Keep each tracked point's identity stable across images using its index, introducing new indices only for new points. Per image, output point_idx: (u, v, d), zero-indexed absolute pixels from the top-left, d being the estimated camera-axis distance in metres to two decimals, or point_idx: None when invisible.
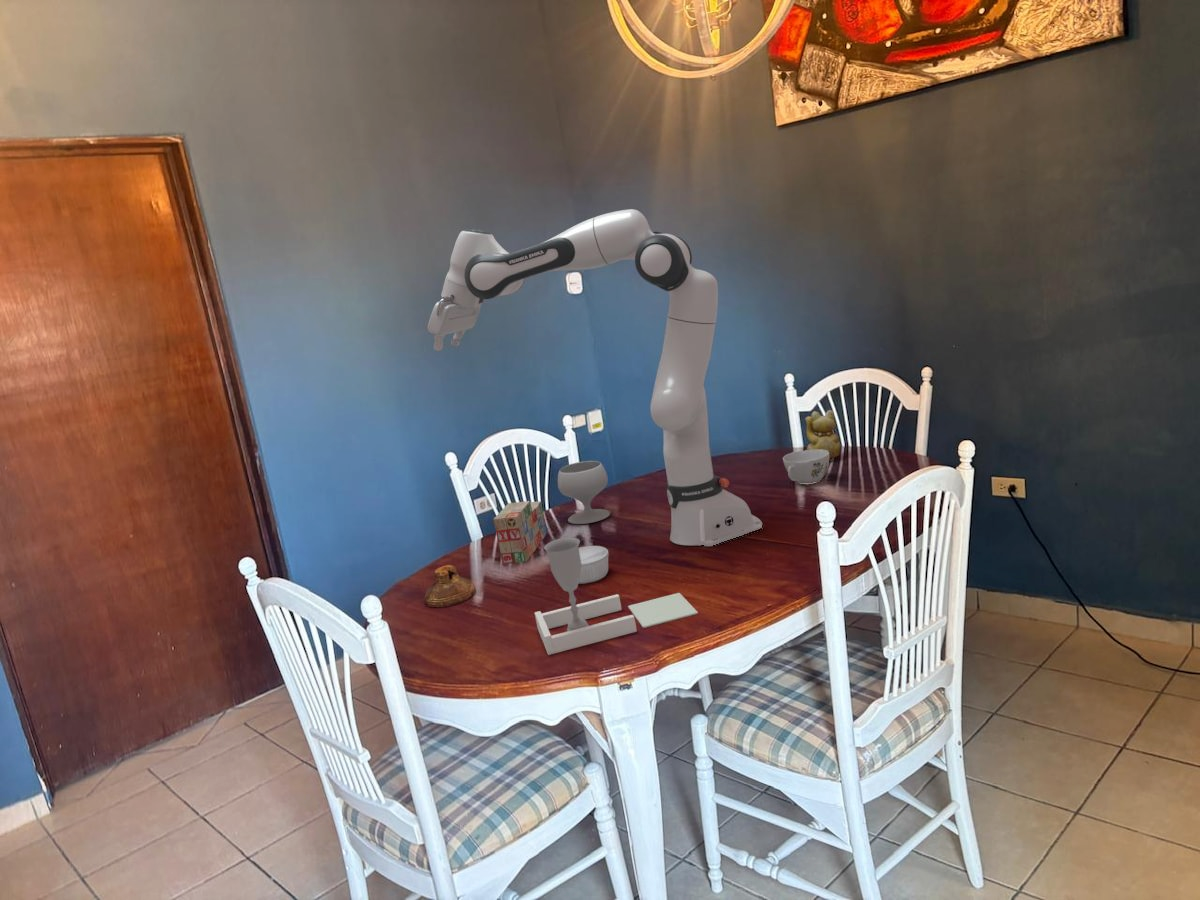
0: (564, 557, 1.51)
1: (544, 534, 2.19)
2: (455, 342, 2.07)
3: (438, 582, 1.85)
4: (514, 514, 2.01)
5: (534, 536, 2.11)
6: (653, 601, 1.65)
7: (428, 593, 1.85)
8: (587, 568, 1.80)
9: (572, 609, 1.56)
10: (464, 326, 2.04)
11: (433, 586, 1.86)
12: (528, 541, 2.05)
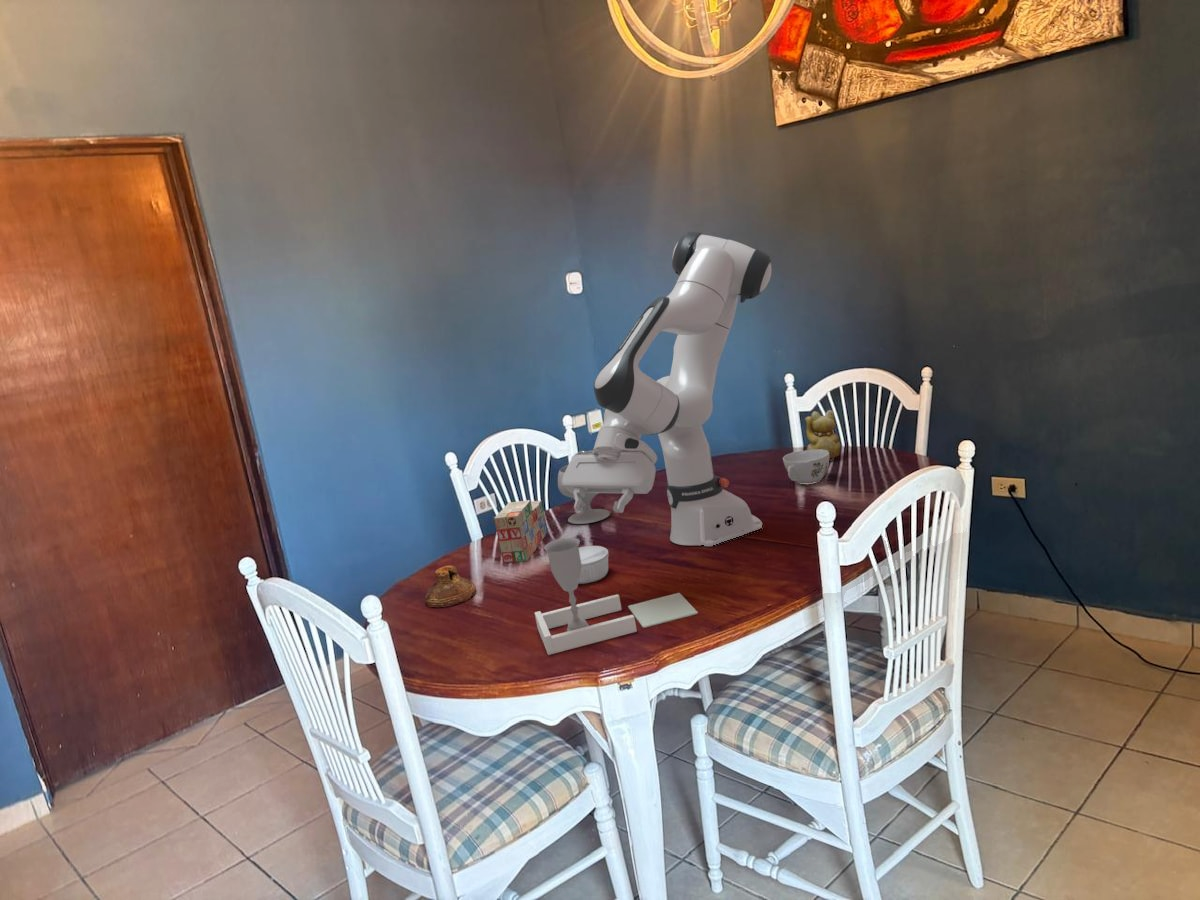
0: (564, 557, 1.51)
1: (544, 533, 2.19)
2: None
3: (439, 582, 1.85)
4: (515, 513, 2.02)
5: (534, 535, 2.11)
6: (653, 601, 1.65)
7: (429, 593, 1.84)
8: (587, 568, 1.80)
9: (572, 609, 1.56)
10: (615, 480, 1.62)
11: (434, 586, 1.86)
12: (528, 540, 2.06)
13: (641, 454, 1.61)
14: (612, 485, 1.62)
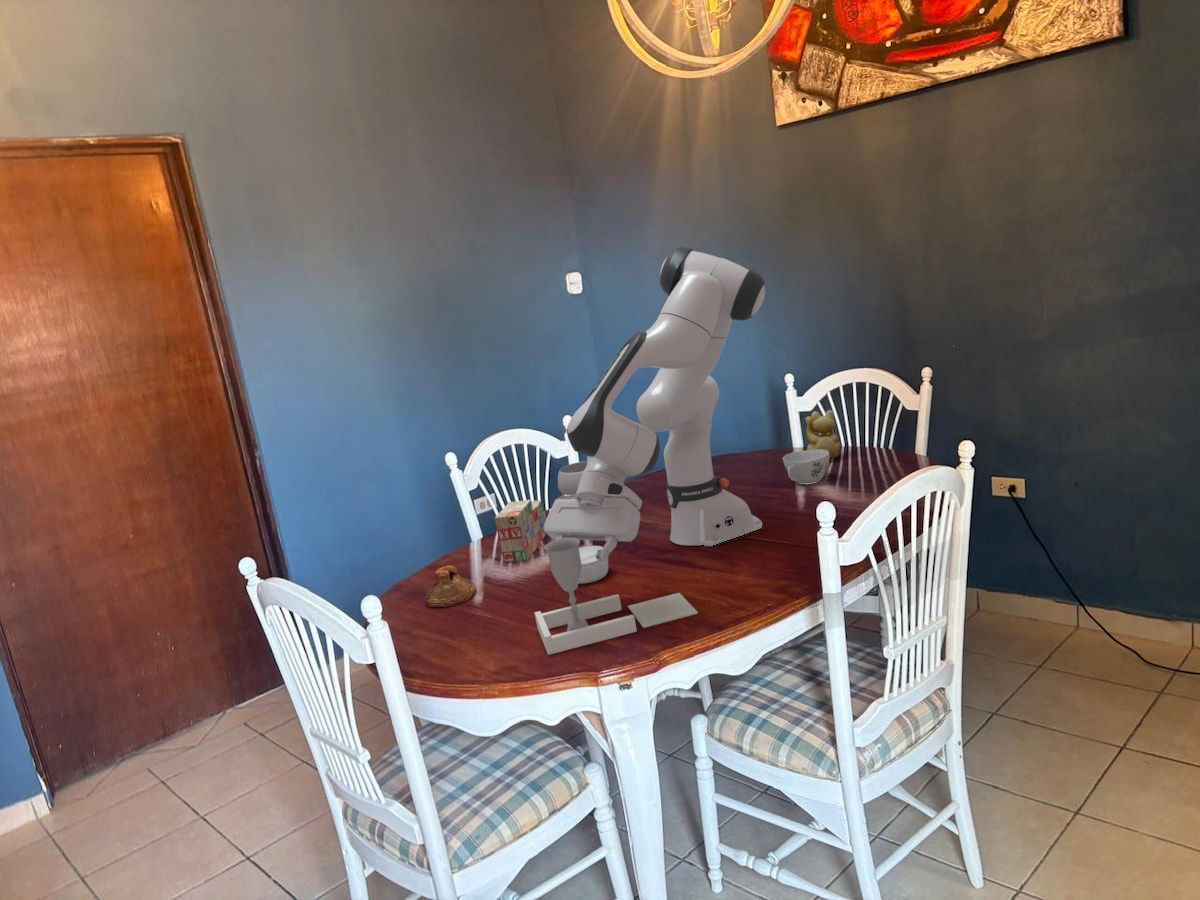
0: (564, 557, 1.51)
1: (545, 533, 2.20)
2: None
3: (439, 582, 1.84)
4: (515, 513, 2.02)
5: (535, 535, 2.12)
6: (653, 601, 1.65)
7: (429, 593, 1.84)
8: (587, 568, 1.80)
9: (572, 609, 1.56)
10: (598, 527, 1.56)
11: (434, 586, 1.85)
12: (529, 540, 2.06)
13: (625, 500, 1.55)
14: (595, 532, 1.56)
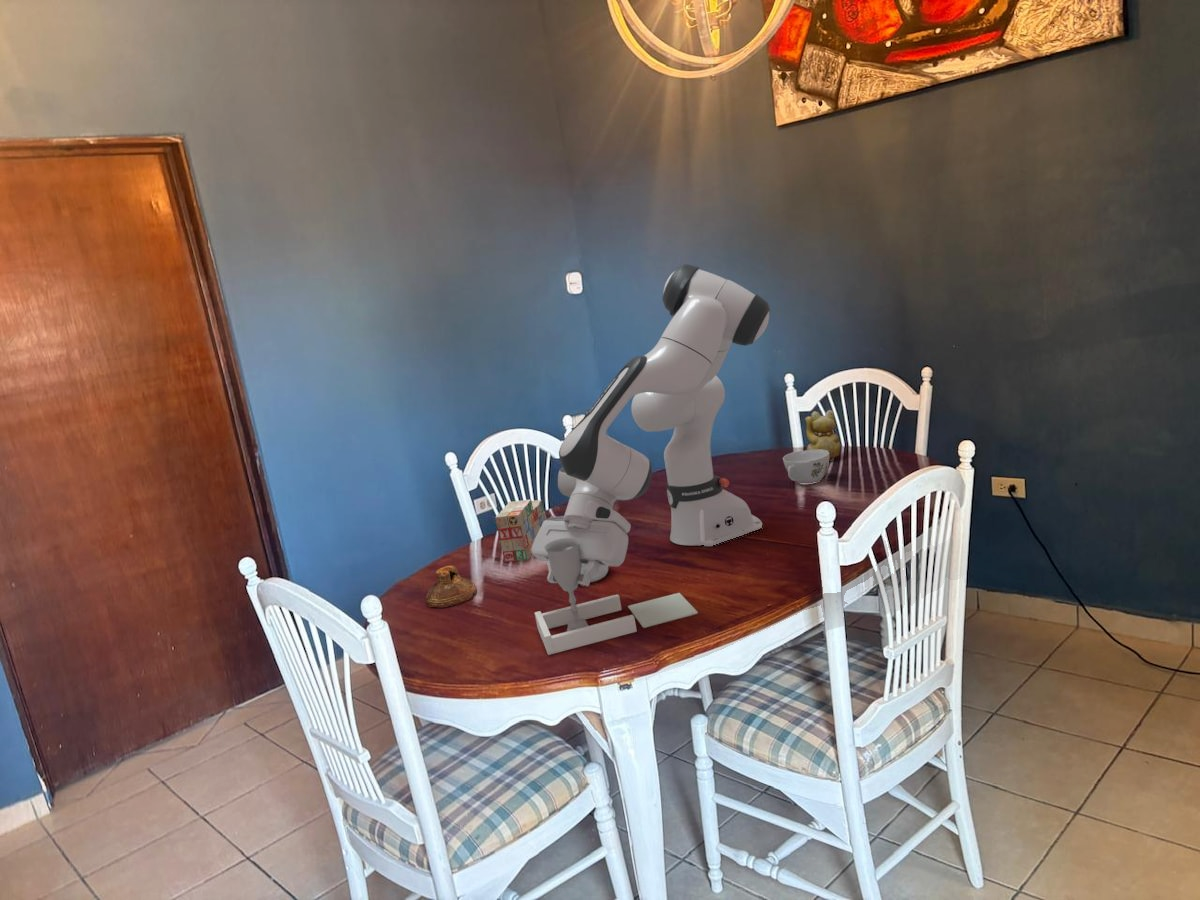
0: (564, 557, 1.51)
1: None
2: None
3: (439, 583, 1.84)
4: (516, 512, 2.03)
5: (535, 534, 2.12)
6: (653, 601, 1.65)
7: (429, 594, 1.84)
8: (587, 568, 1.80)
9: (572, 609, 1.56)
10: (585, 551, 1.54)
11: (434, 586, 1.85)
12: (529, 539, 2.07)
13: (612, 525, 1.53)
14: (582, 557, 1.54)
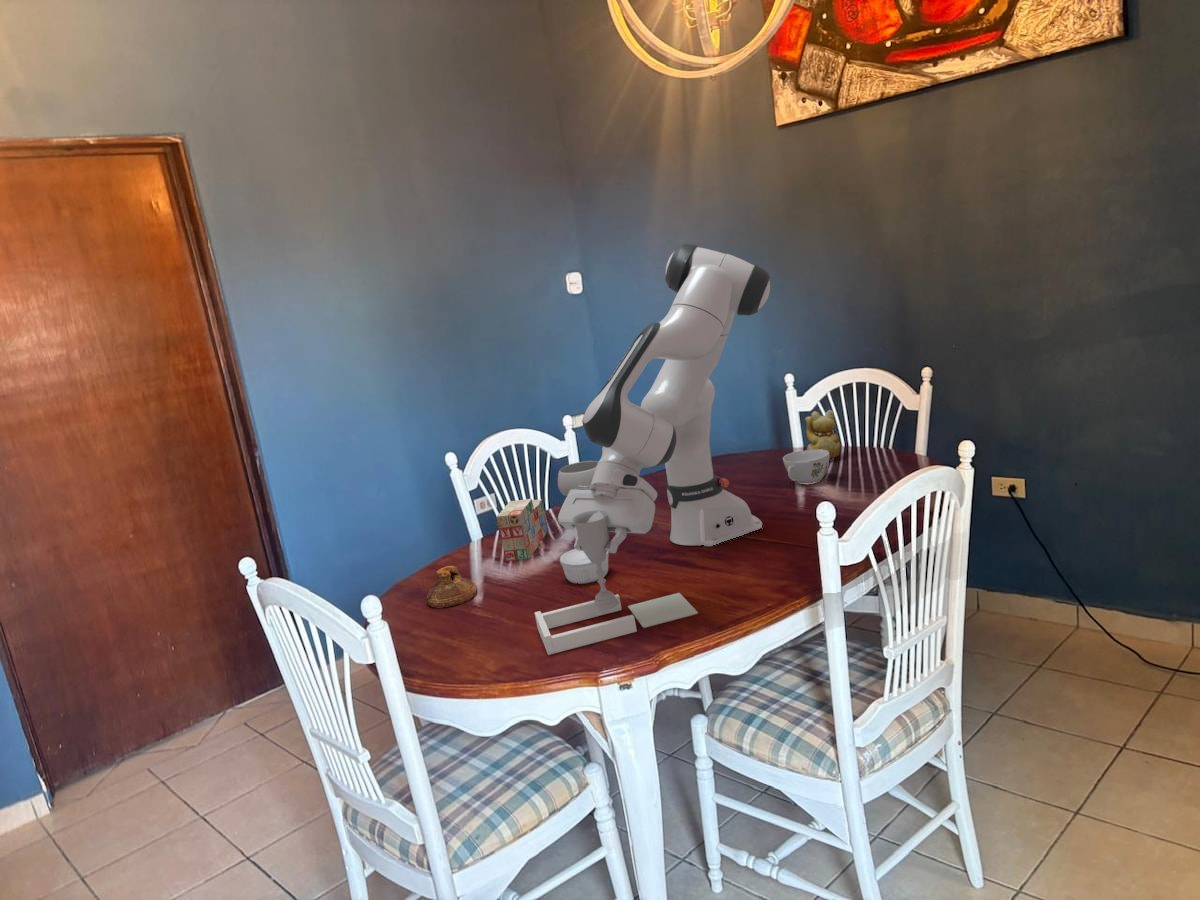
0: (592, 528, 1.52)
1: (545, 532, 2.21)
2: None
3: (440, 583, 1.84)
4: (517, 512, 2.03)
5: (536, 534, 2.13)
6: (653, 601, 1.65)
7: (430, 594, 1.84)
8: (587, 568, 1.80)
9: (600, 581, 1.56)
10: (612, 519, 1.54)
11: (435, 587, 1.85)
12: (530, 538, 2.07)
13: (640, 492, 1.53)
14: (609, 524, 1.54)
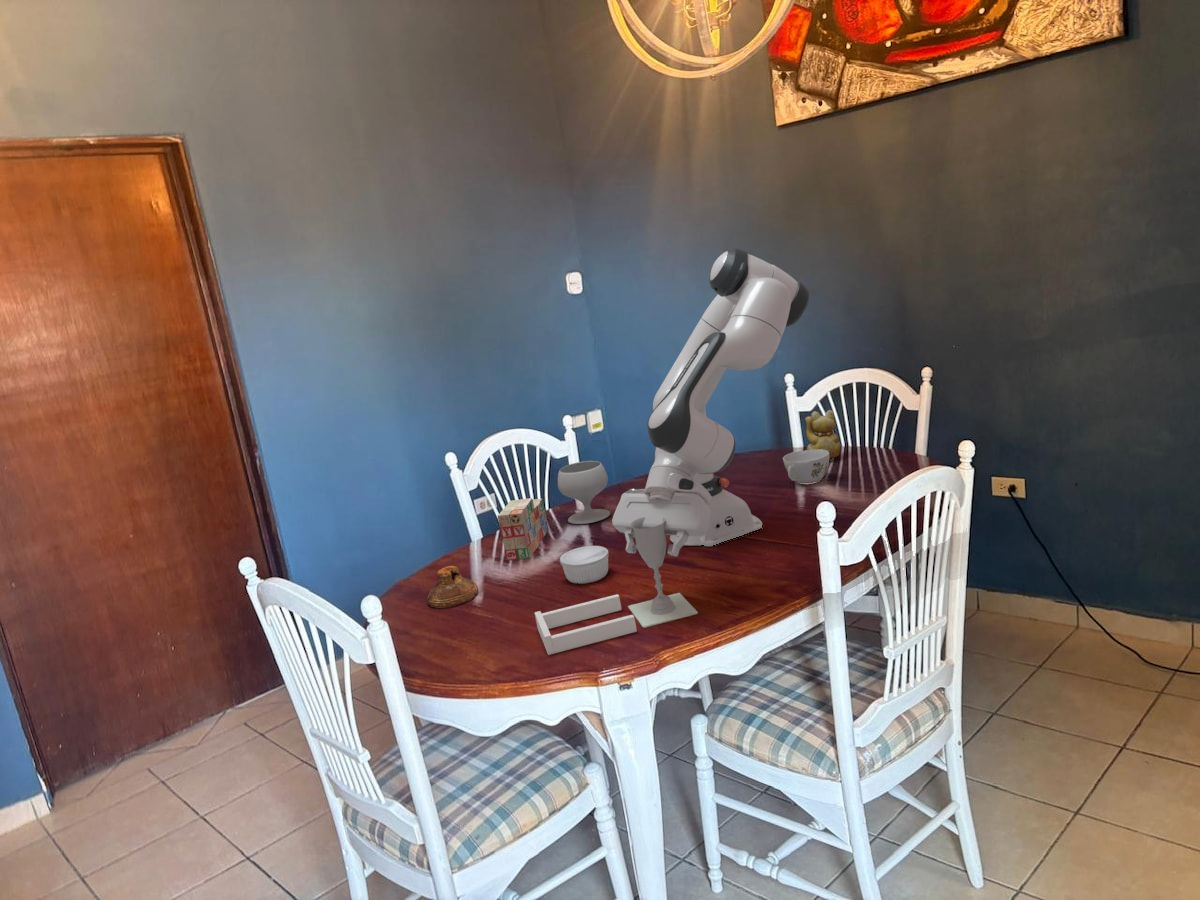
0: (651, 533, 1.54)
1: (545, 531, 2.21)
2: None
3: (441, 583, 1.84)
4: (518, 511, 2.04)
5: (537, 533, 2.13)
6: None
7: (431, 594, 1.84)
8: (587, 568, 1.80)
9: (657, 586, 1.59)
10: (669, 522, 1.57)
11: (436, 587, 1.85)
12: (531, 537, 2.08)
13: (696, 496, 1.56)
14: (666, 527, 1.57)
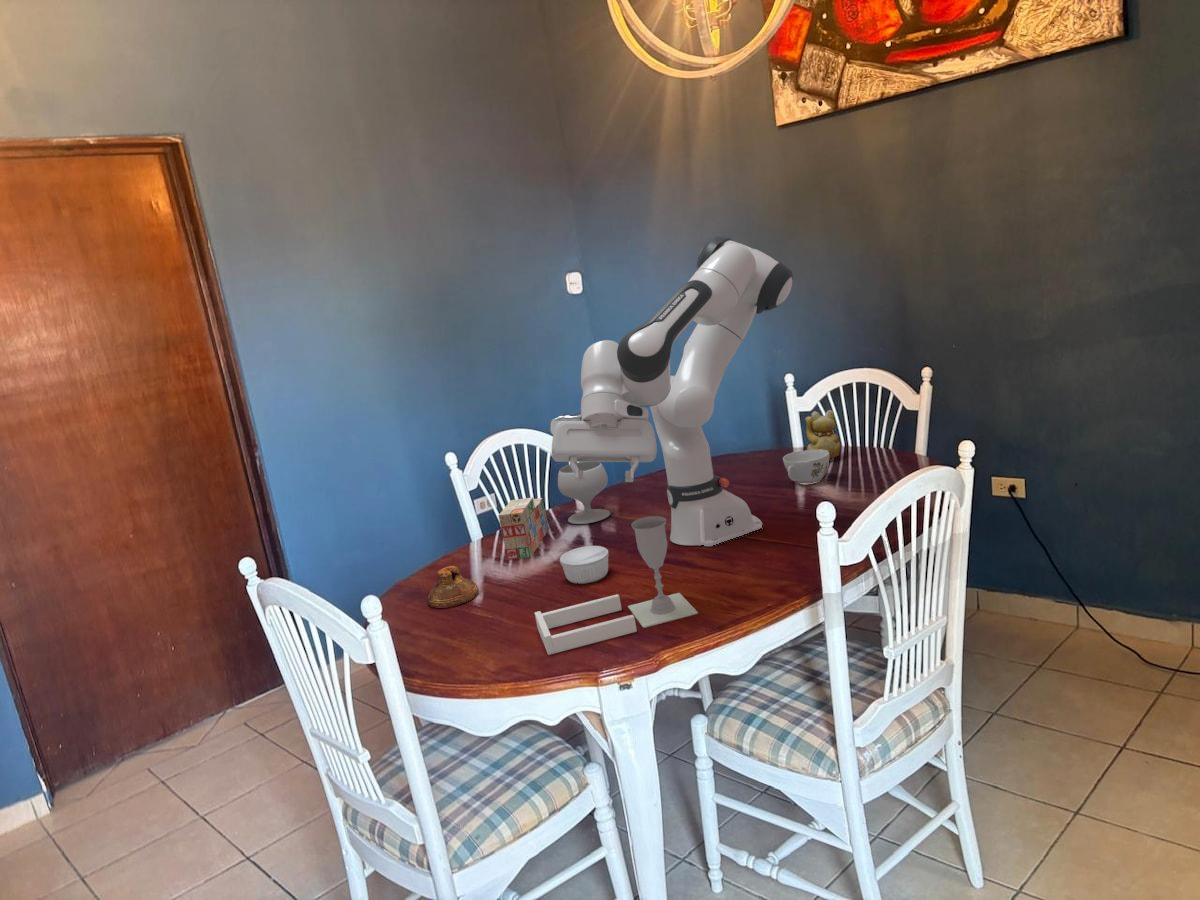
0: (652, 534, 1.54)
1: (546, 530, 2.22)
2: (625, 475, 1.55)
3: (441, 583, 1.84)
4: (519, 510, 2.04)
5: (537, 532, 2.14)
6: None
7: (431, 594, 1.84)
8: (587, 568, 1.80)
9: (657, 586, 1.59)
10: (622, 448, 1.55)
11: (436, 587, 1.85)
12: (532, 537, 2.08)
13: (647, 422, 1.57)
14: (620, 454, 1.55)
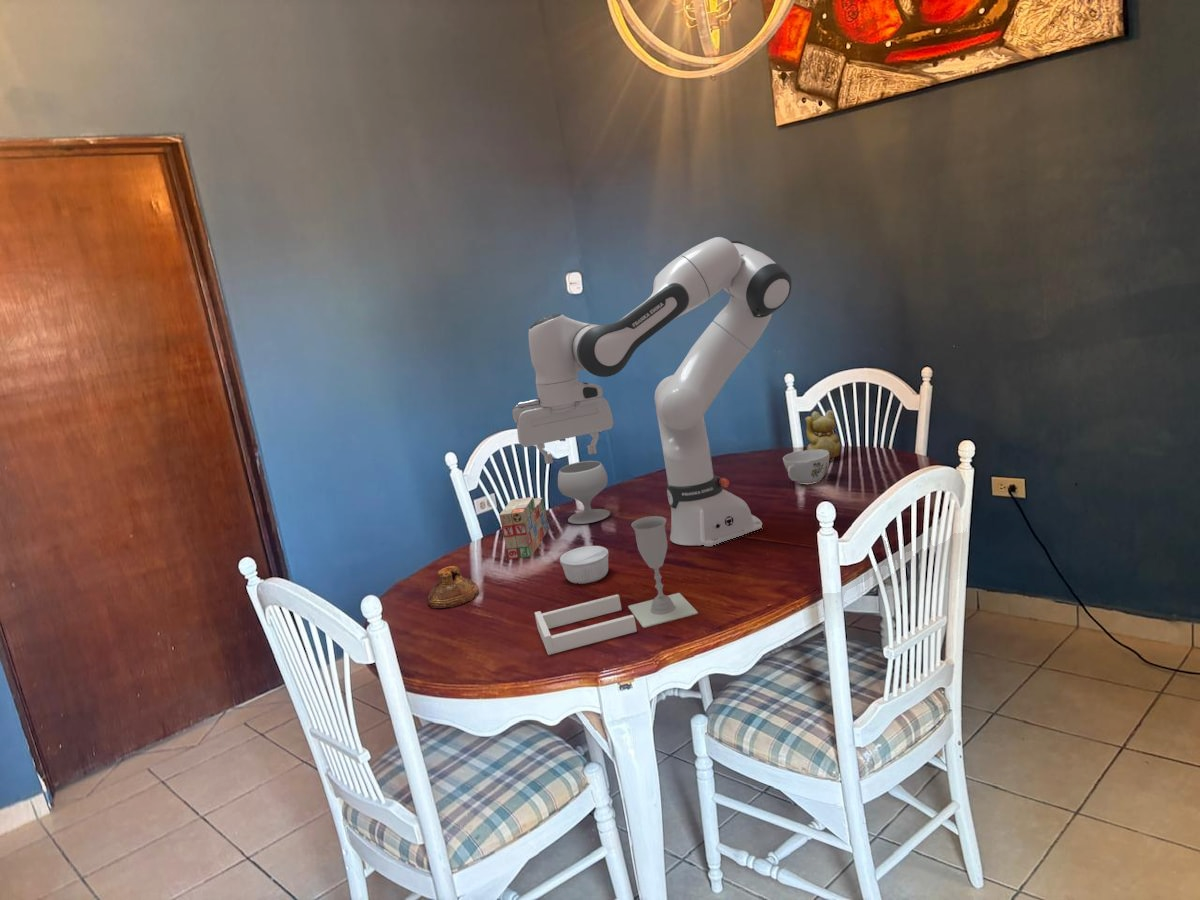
0: (652, 534, 1.54)
1: (546, 530, 2.22)
2: (589, 449, 1.73)
3: (441, 583, 1.84)
4: (519, 509, 2.05)
5: (537, 531, 2.14)
6: None
7: (431, 594, 1.84)
8: (587, 568, 1.80)
9: (657, 586, 1.59)
10: (583, 429, 1.70)
11: (436, 587, 1.85)
12: (533, 536, 2.08)
13: (602, 399, 1.70)
14: (582, 434, 1.71)
